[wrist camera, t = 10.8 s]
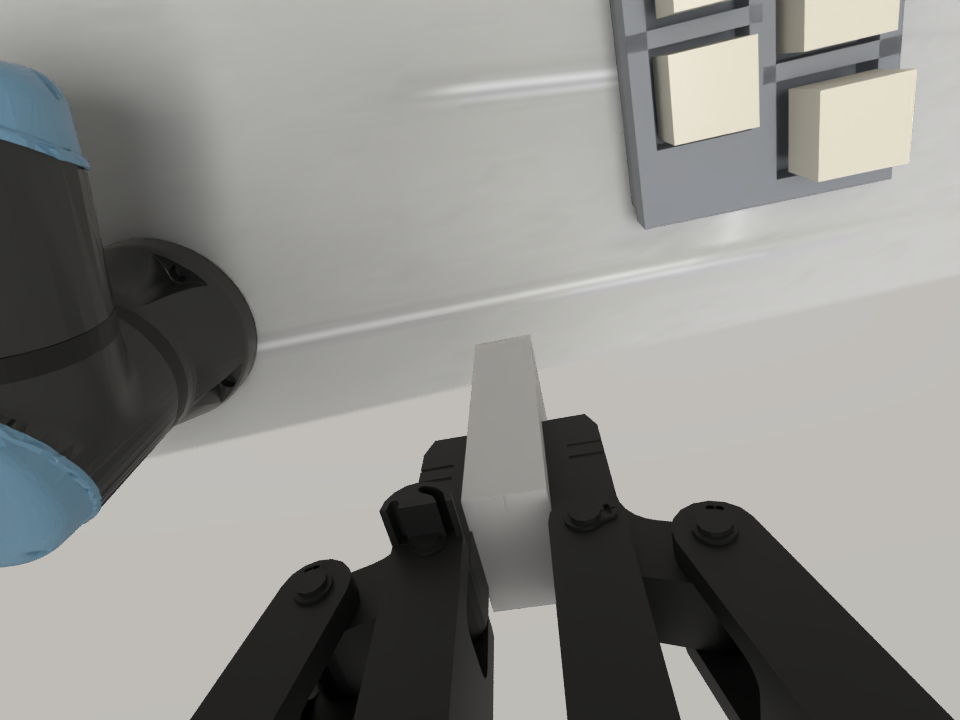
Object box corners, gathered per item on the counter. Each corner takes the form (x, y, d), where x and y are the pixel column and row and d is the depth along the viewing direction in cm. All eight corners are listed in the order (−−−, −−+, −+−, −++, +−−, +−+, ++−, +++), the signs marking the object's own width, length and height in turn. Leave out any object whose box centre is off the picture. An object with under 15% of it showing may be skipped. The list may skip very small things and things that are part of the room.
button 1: (788, 171, 38) (818, 182, 35) (788, 88, 36) (820, 90, 32) (870, 154, 38) (909, 163, 34) (875, 69, 35) (917, 68, 32)
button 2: (658, 139, 39) (674, 145, 36) (651, 57, 37) (667, 55, 34) (735, 121, 39) (759, 126, 35) (732, 37, 37) (758, 33, 33)
